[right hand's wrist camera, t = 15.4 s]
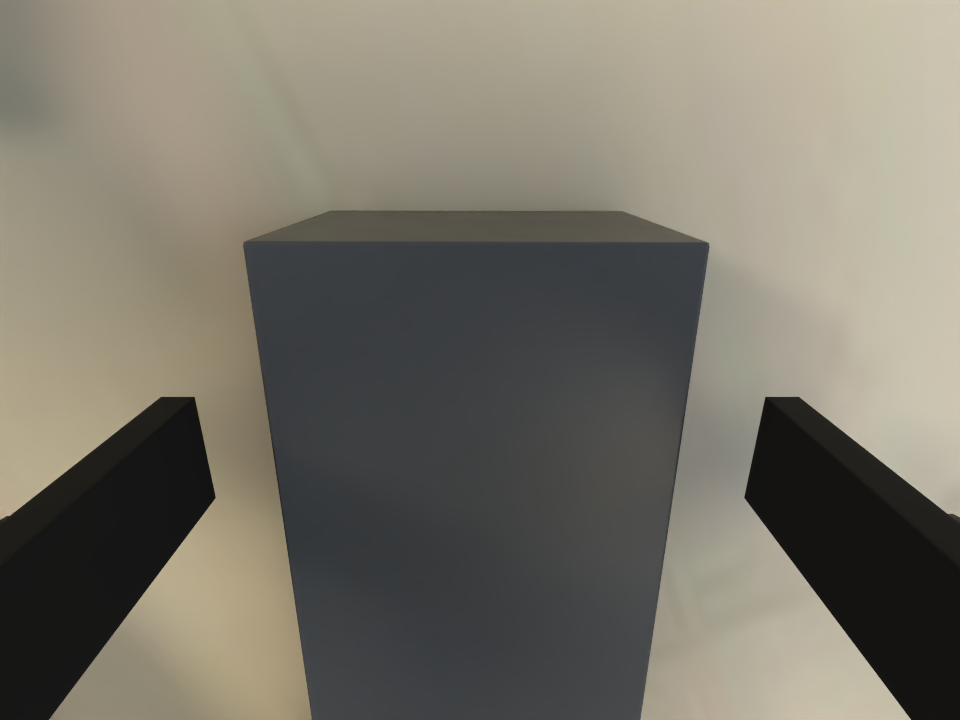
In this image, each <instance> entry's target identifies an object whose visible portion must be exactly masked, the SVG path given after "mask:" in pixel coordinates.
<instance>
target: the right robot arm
mask: <svg viewBox="0 0 960 720" xmlns="http://www.w3.org/2000/svg"><path fill="white" fill-rule="evenodd" d="M215 498H216V497H215V492H214V488H213V483H212V478H211V473H210V469H209V464H208V459H207V454H206V450H205V445H204V440H203V435H202V430H201V426H200V421H199V416H198V411H197V407H196V402H195V397H161V398H159V399H158V400H157V401H156V402H154V403H153V404H152V405H150V406H149V407H148V408H147V409H145V410H144V411H143V412H142V413H140V414H139V415H138V416H136V417H135V418H134V419H133V420H131V421H130V422H129V423H128V424H126V425H125V426H124V427H122V428H121V429H120V430H119V431H117V432H116V433H115V434H114V435H112V436H111V437H110V438H108V439H107V440H106V441H105V442H103V443H102V444H101V445H100V446H98V447H97V448H96V449H95V450H93V451H92V452H91V453H89V454H88V455H87V456H86V457H84V458H83V459H82V460H81V461H79V462H78V463H77V464H75V465H74V466H73V467H72V468H70V469H69V470H68V471H67V472H65V473H64V474H63V475H61V476H60V477H59V478H58V479H56V480H55V481H54V482H53V483H51V484H50V485H49V486H48V487H46V488H45V489H44V490H42V491H41V492H40V493H39V494H37V495H36V496H35V497H34V498H32V499H31V500H30V501H28V502H27V503H26V504H25V505H23V506H22V507H21V508H20V509H18V510H17V511H16V512H14V513H13V514H12V515H11V516H7V517H5V518H3V519H1V520H0V720H49V719H50V717H51V716H52V715H53V713H54V712H55V711H56V709H57V708H58V707H59V705H60V704H61V703H62V701H63V700H64V699H65V697H66V696H67V695H68V693H69V692H70V691H71V689H72V688H73V687H74V685H75V684H76V683H77V681H78V680H79V679H80V677H81V676H82V675H83V673H84V672H85V671H86V669H87V668H88V667H89V665H90V664H91V663H92V661H93V660H94V659H95V657H96V656H97V655H98V654H99V652H100V651H101V650H102V648H103V647H104V646H105V644H106V643H107V642H108V640H109V639H110V638H111V636H112V635H113V634H114V632H115V631H116V630H117V628H118V627H119V626H120V624H121V623H122V622H123V620H124V619H125V618H126V616H127V615H128V614H129V612H130V611H131V610H132V608H133V607H134V606H135V604H136V603H137V602H138V600H139V599H140V598H141V596H142V595H143V594H144V592H145V591H146V590H147V588H148V587H149V586H150V584H151V583H152V582H153V580H154V579H155V578H156V576H157V575H158V574H159V572H160V571H161V570H162V568H163V567H164V566H165V564H166V563H167V562H168V560H169V559H170V558H171V556H172V555H173V554H174V552H175V551H176V550H177V548H178V547H179V546H180V544H181V543H182V542H183V540H184V539H185V538H186V536H187V535H188V534H189V532H190V531H191V530H192V528H193V527H194V526H195V525H196V523H197V522H198V521H199V519H200V518H201V517H202V515H203V514H204V513H205V511H206V510H207V509H208V507H209V506H210V505H211V503H212V502H213V501H214V499H215ZM744 498H745V499H746V501H747V502H748V503H749V505H750V506H751V507H752V509H753V510H754V511H755V513H756V514H757V515H758V517H759V518H760V519H761V521H762V522H763V523H764V525H765V526H766V527H767V528H768V530H769V531H770V532H771V534H772V535H773V536H774V538H775V539H776V540H777V542H778V543H779V544H780V546H781V547H782V548H783V550H784V551H785V552H786V554H787V555H788V556H789V558H790V559H791V560H792V562H793V563H794V564H795V566H796V567H797V568H798V570H799V571H800V572H801V574H802V575H803V576H804V578H805V579H806V580H807V582H808V583H809V584H810V586H811V587H812V588H813V590H814V591H815V592H816V594H817V595H818V596H819V598H820V599H821V600H822V602H823V603H824V604H825V606H826V607H827V608H828V610H829V611H830V612H831V614H832V615H833V616H834V618H835V619H836V620H837V622H838V623H839V624H840V626H841V627H842V628H843V630H844V631H845V632H846V634H847V635H848V636H849V638H850V639H851V640H852V642H853V643H854V644H855V646H856V647H857V648H858V650H859V651H860V652H861V654H862V655H863V656H864V657H865V659H866V660H867V661H868V663H869V664H870V665H871V667H872V668H873V669H874V671H875V672H876V673H877V675H878V676H879V677H880V679H881V680H882V681H883V683H884V684H885V685H886V687H887V688H888V689H889V691H890V692H891V693H892V695H893V696H894V697H895V699H896V700H897V701H898V703H899V704H900V705H901V707H902V708H903V709H904V711H905V712H906V713H907V715H908V716H909V717H910V719H911V720H960V517H958V516H956V515H954V514H947V513H946V512H944V511H943V510H942V509H940V508H939V507H938V506H937V505H935V504H934V503H933V502H932V501H930V500H929V499H928V498H926V497H925V496H924V495H923V494H921V493H920V492H919V491H918V490H916V489H915V488H914V487H912V486H911V485H910V484H909V483H907V482H906V481H905V480H904V479H902V478H901V477H900V476H899V475H897V474H896V473H895V472H893V471H892V470H891V469H890V468H888V467H887V466H886V465H885V464H883V463H882V462H881V461H879V460H878V459H877V458H876V457H874V456H873V455H872V454H871V453H869V452H868V451H867V450H865V449H864V448H863V447H862V446H860V445H859V444H858V443H857V442H855V441H854V440H853V439H852V438H850V437H849V436H848V435H846V434H845V433H844V432H843V431H841V430H840V429H839V428H838V427H836V426H835V425H834V424H832V423H831V422H830V421H829V420H827V419H826V418H825V417H824V416H822V415H821V414H820V413H818V412H817V411H816V410H815V409H813V408H812V407H811V406H810V405H808V404H807V403H806V402H804V401H803V400H802V399H801V398H799V397H765V402H764V407H763V411H762V416H761V421H760V426H759V430H758V435H757V440H756V445H755V450H754V454H753V459H752V464H751V469H750V473H749V478H748V483H747V488H746V492H745V497H744Z"/></svg>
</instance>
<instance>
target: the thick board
mask: <svg viewBox="0 0 960 720" xmlns="http://www.w3.org/2000/svg"><path fill="white" fill-rule="evenodd" d="M243 247H244V253H245V260H246V267H247V274H248V281H249V288H250V295H251V302H252V309H253V315H254V322H255V329H256V336H257V343H258V350H259V357H260V364H261V371H262V377H263V384H264V391H265V398H266V405H267V412H268V419H269V426H270V433H271V439H272V446H273V453H274V460H275V467H276V474H277V481H278V488H279V495H280V501H281V508H282V515H283V522H284V529H285V536H286V543H287V550H288V557H289V563H290V570H291V577H292V584H293V591H294V598H295V605H296V612H297V619H298V625H299V632H300V639H301V646H302V653H303V660H304V667H305V674H306V681H307V687H308V694H309V701H310V708H311V715H312V720H640V718H641V711H642V704H643V697H644V690H645V683H646V677H647V670H648V663H649V656H650V649H651V642H652V636H653V629H654V622H655V615H656V608H657V601H658V594H659V588H660V581H661V574H662V567H663V560H664V553H665V547H666V540H667V533H668V526H669V519H670V512H671V505H672V499H673V492H674V485H675V478H676V471H677V464H678V458H679V451H680V444H681V437H682V430H683V423H684V416H685V410H686V403H687V396H688V389H689V382H690V375H691V369H692V362H693V355H694V348H695V341H696V334H697V328H698V321H699V314H700V307H701V300H702V293H703V286H704V280H705V273H706V266H707V259H708V252H709V243H707V242H705V241H702V240H699V239H696V238H694V237H691V236H688V235H686V234H683V233H680V232H677V231H675V230H672V229H669V228H666V227H664V226H661V225H658V224H656V223H653V222H650V221H647V220H645V219H642V218H639V217H636V216H634V215H631V214H628V213H626V212H596V211H329V212H327V213H324V214H321V215H318V216H315V217H313V218H310V219H307V220H304V221H301V222H299V223H296V224H293V225H290V226H287V227H284V228H282V229H279V230H276V231H273V232H270V233H268V234H265V235H262V236H259V237H256V238H253V239H251V240H248V241H245V242H244V244H243Z"/></svg>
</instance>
